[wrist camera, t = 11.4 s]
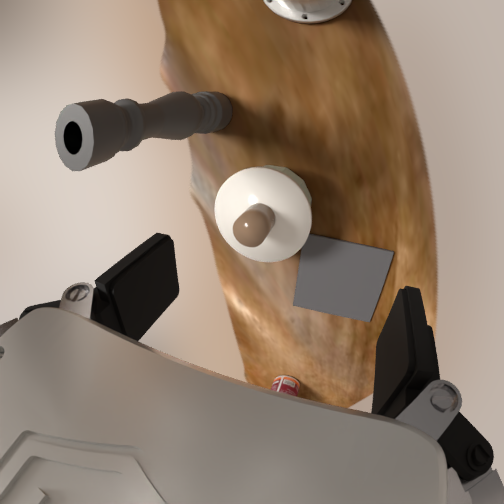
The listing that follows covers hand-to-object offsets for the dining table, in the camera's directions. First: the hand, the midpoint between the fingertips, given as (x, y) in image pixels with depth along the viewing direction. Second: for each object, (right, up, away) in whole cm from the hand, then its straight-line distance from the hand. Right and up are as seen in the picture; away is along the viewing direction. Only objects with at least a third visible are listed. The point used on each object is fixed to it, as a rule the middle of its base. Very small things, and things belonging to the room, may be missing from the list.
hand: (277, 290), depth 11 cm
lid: (0, +6, +27) cm, 27 cm away
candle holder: (-7, +22, +27) cm, 36 cm away
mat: (+13, -3, +33) cm, 36 cm away
